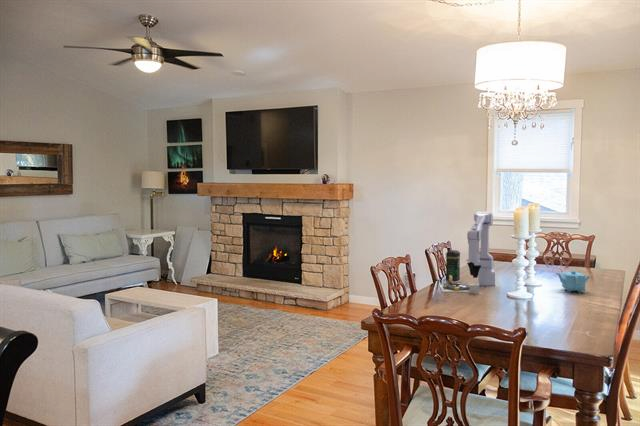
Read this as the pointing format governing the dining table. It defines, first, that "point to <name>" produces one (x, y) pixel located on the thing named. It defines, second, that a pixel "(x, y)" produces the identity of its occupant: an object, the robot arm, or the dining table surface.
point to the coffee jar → (453, 265)
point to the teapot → (573, 281)
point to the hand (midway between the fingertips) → (473, 276)
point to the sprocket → (455, 285)
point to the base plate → (452, 289)
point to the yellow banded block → (473, 288)
